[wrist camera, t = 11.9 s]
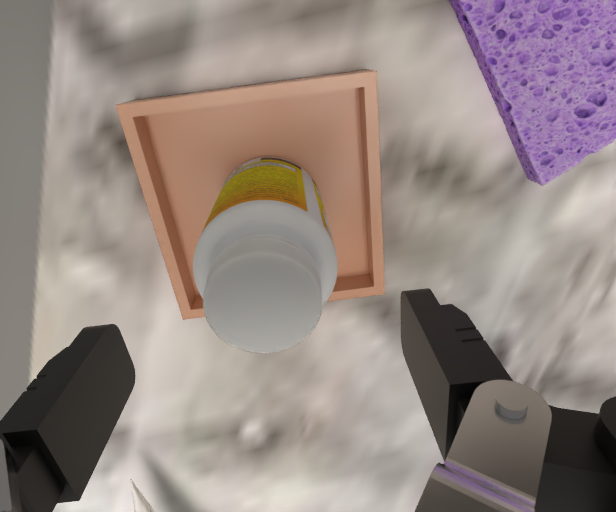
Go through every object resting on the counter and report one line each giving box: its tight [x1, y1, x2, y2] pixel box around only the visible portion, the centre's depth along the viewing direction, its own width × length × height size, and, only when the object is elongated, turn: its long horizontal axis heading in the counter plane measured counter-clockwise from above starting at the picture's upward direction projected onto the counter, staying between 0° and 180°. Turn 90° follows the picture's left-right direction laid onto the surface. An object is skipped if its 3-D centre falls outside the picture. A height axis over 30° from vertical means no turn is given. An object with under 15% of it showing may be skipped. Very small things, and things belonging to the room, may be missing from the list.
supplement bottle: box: [193, 157, 338, 353], centre depth 18 cm, size 6×6×10 cm
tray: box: [116, 70, 385, 320], centre depth 22 cm, size 12×12×2 cm
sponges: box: [450, 0, 616, 185], centre depth 20 cm, size 7×13×2 cm, turn 35°
